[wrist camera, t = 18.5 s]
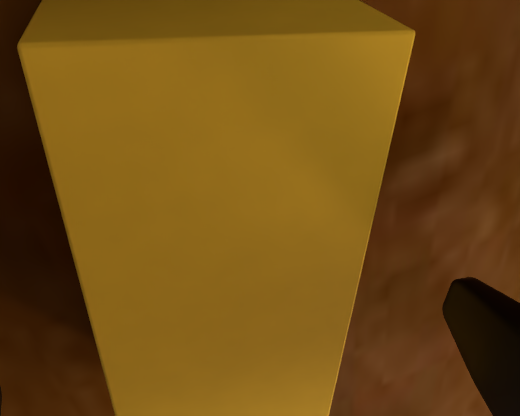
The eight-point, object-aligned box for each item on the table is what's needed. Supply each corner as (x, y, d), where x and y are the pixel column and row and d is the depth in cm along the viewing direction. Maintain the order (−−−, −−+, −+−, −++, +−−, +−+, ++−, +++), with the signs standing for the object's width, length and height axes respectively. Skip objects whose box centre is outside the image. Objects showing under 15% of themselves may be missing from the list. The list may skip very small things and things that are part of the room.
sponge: (130, 358, 15) (134, 491, 12) (52, -24, 8) (14, 43, 5) (281, 331, 16) (322, 446, 13) (316, -25, 9) (418, 30, 6)
